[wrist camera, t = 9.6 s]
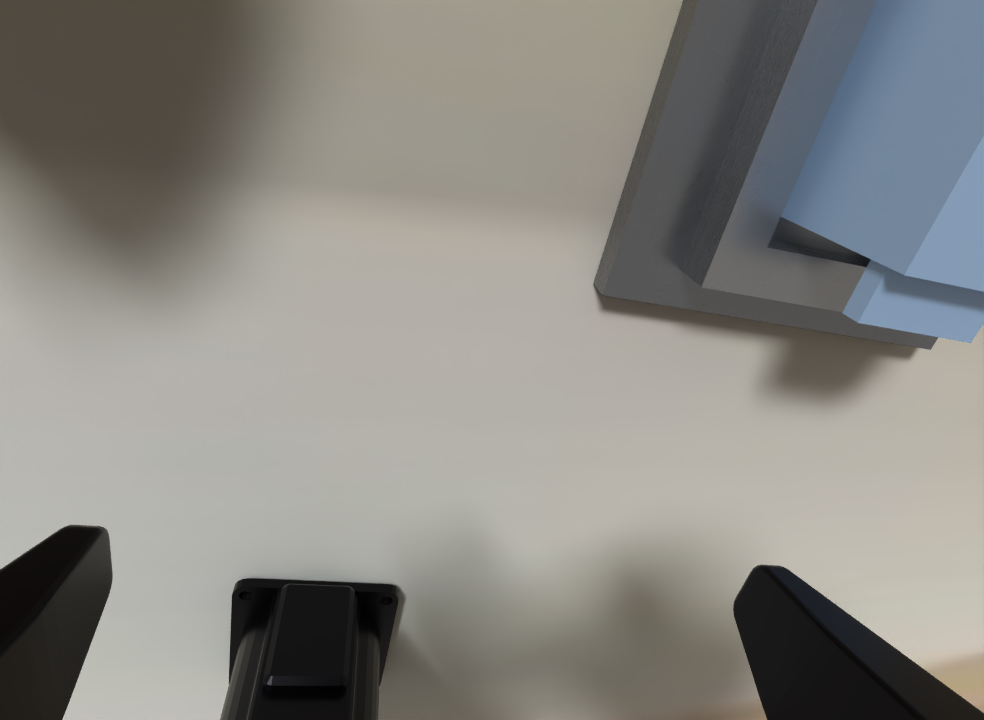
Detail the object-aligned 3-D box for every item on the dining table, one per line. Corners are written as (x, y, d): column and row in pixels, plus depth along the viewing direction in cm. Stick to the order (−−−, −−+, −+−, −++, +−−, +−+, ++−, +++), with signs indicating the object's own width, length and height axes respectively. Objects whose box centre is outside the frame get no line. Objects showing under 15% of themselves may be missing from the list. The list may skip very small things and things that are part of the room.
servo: (854, 278, 20) (1029, 372, 14) (751, 258, 19) (895, 349, 13) (1021, -34, 16) (1349, -71, 10) (900, -80, 15) (1190, -145, 9)
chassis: (910, 337, 23) (964, 369, 20) (593, 283, 20) (617, 314, 18) (1153, -69, 17) (1264, -84, 15) (756, -230, 14) (823, -279, 12)
